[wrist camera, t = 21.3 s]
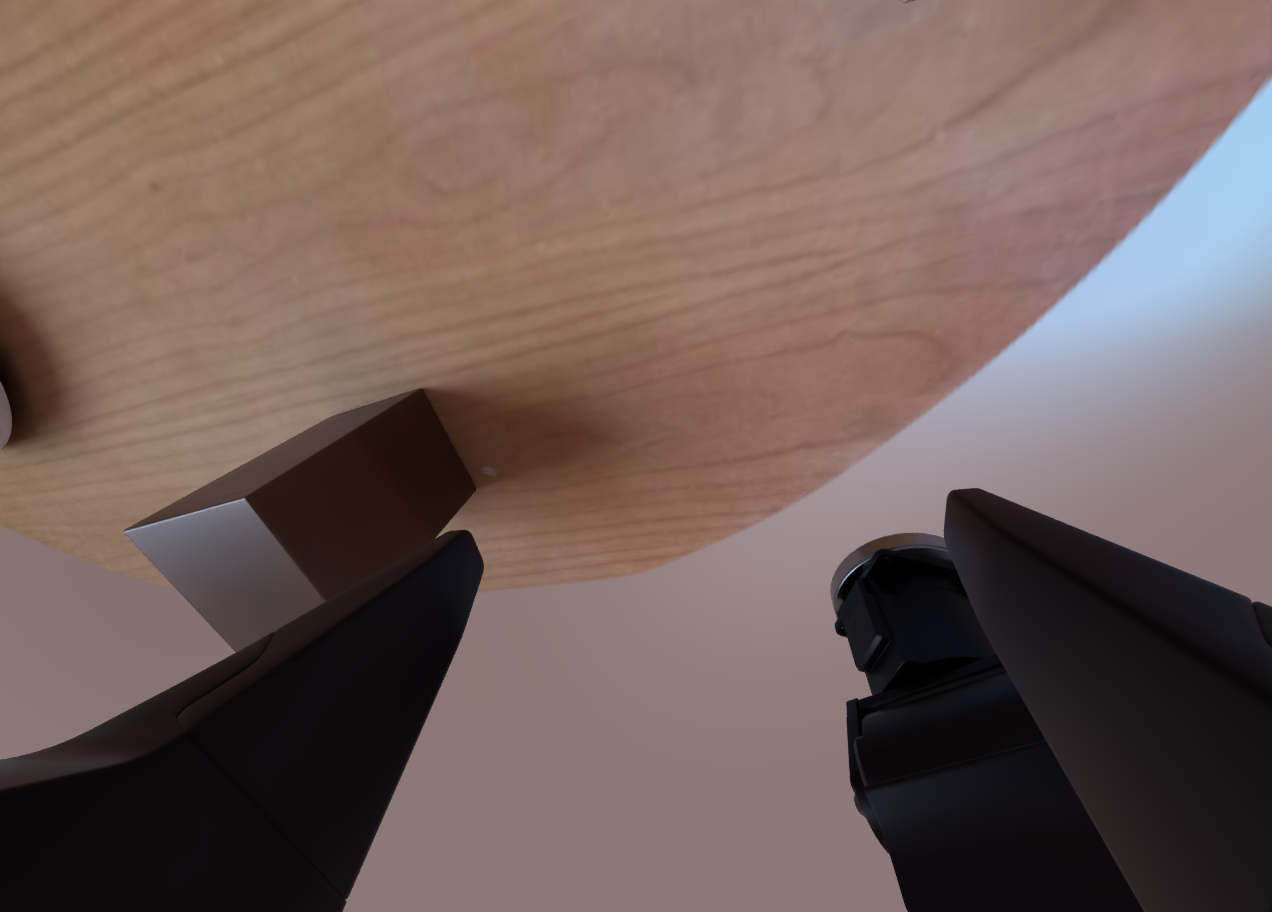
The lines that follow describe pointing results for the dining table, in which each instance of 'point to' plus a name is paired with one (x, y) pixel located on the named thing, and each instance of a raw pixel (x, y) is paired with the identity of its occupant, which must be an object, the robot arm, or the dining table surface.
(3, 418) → the grey round disc
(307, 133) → the dining table surface
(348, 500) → the stand
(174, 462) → the dining table surface
